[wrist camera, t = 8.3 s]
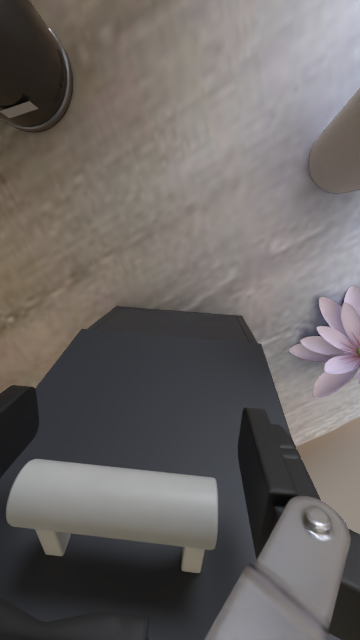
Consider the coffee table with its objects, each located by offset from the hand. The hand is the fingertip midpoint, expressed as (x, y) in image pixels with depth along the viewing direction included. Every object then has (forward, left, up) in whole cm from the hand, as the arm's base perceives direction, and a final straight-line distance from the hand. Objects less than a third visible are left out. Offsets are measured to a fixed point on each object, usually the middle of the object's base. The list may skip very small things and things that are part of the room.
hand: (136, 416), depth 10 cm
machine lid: (+1, -4, -5) cm, 6 cm away
